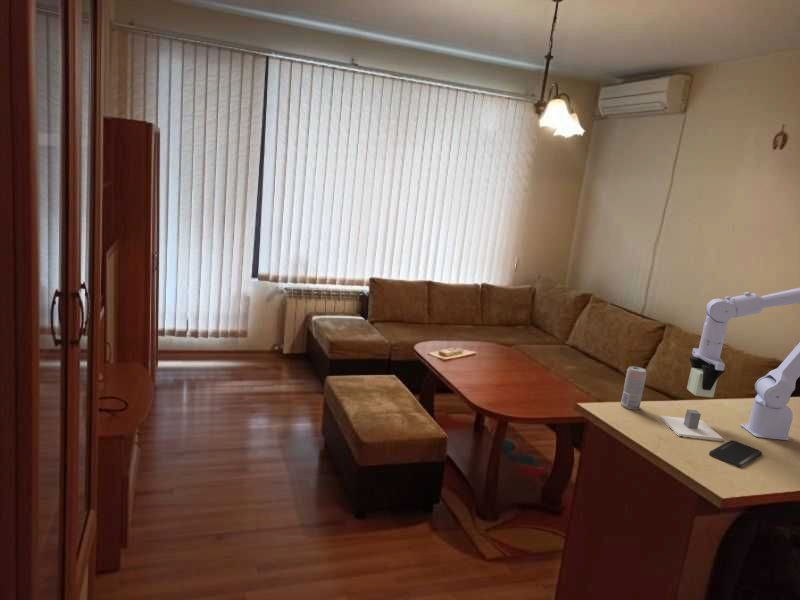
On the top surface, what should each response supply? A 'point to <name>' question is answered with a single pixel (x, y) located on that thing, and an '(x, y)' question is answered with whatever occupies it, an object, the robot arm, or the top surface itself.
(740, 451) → the phone
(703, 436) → the post board
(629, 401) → the energy drink
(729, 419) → the top surface
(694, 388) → the pale green slotted block
